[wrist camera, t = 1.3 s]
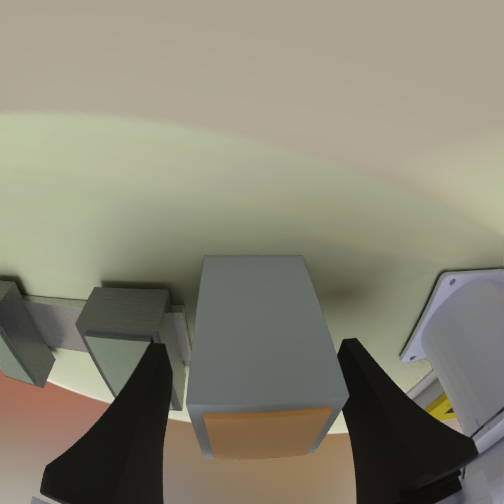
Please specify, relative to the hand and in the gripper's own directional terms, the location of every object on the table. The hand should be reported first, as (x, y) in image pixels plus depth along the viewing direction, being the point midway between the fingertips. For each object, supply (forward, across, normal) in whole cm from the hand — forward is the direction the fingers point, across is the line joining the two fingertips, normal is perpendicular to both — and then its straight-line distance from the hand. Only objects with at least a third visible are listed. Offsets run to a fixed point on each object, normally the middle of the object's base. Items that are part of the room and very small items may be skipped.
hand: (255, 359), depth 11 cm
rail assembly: (+4, +11, +2) cm, 12 cm away
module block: (+4, 0, 0) cm, 4 cm away
